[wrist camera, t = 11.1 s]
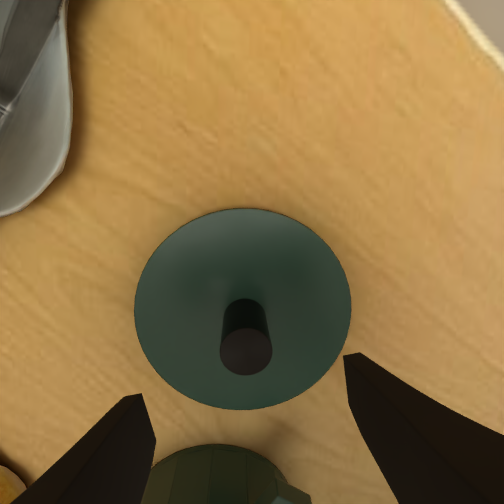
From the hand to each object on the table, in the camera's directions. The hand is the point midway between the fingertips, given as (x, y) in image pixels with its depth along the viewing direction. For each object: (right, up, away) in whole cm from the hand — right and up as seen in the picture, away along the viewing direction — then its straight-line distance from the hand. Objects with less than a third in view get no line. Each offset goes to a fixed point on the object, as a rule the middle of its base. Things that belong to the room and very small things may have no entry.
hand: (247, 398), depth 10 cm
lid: (0, +1, +7) cm, 7 cm away
